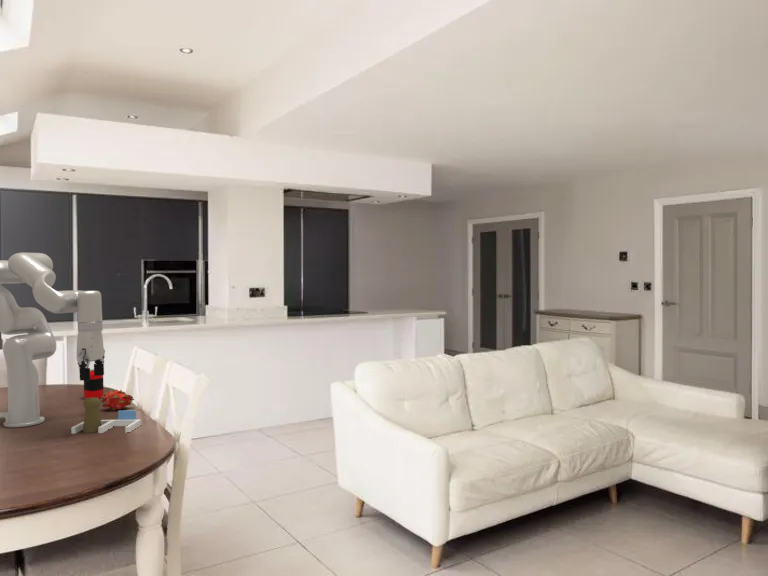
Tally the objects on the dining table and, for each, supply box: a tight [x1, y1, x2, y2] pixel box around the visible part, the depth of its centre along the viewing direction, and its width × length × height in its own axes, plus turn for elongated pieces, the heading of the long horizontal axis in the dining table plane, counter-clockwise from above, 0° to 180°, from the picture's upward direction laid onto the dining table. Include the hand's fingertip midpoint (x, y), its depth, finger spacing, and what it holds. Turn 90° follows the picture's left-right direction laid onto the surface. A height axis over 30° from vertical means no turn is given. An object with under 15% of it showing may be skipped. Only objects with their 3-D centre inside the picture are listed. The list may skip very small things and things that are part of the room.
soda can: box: [83, 368, 105, 399], centre depth 258 cm, size 8×8×12 cm
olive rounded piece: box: [82, 397, 102, 434], centre depth 205 cm, size 6×6×11 cm
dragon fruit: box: [100, 389, 135, 411], centre depth 236 cm, size 8×8×12 cm
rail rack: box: [70, 409, 142, 435], centre depth 206 cm, size 19×11×5 cm, turn 90°
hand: (92, 377), depth 204 cm, fingers open, 9 cm apart
